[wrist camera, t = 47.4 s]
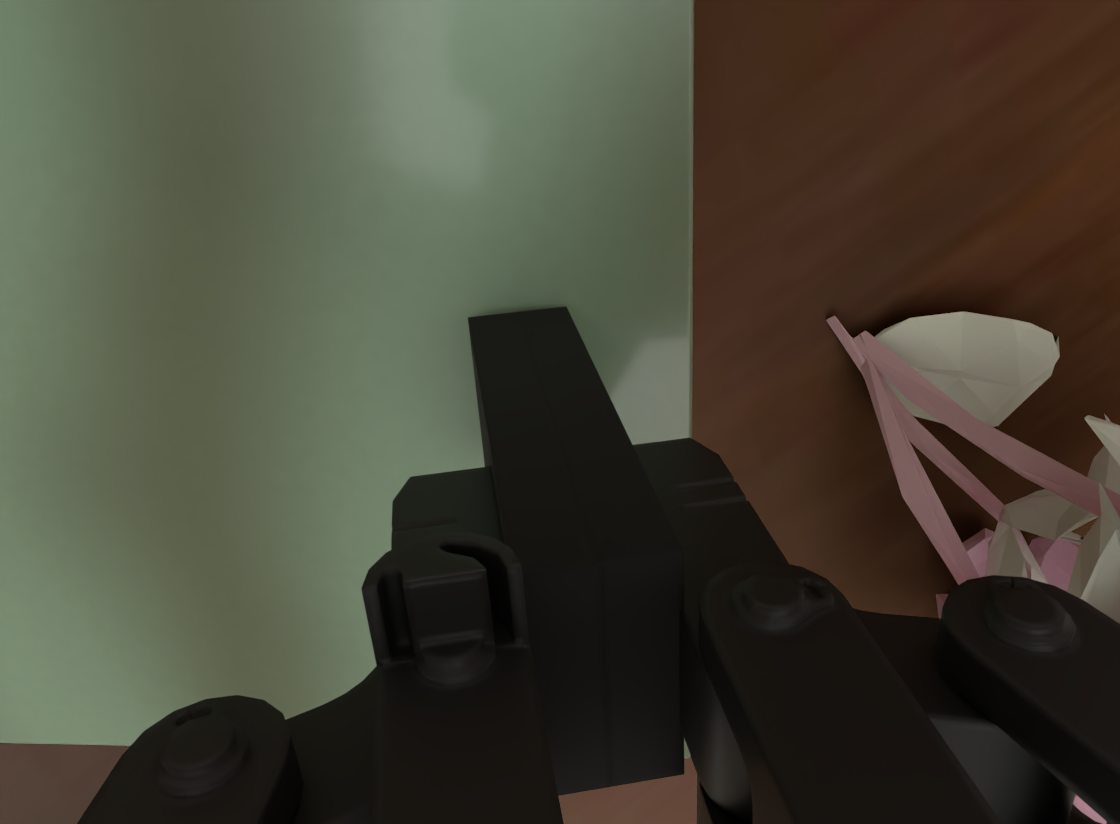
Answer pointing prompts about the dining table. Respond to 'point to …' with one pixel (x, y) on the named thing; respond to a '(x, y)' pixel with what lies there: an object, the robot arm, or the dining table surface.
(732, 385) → the dining table surface
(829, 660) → the robot arm
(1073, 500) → the flower
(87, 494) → the lid
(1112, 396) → the dining table surface
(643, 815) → the dining table surface
